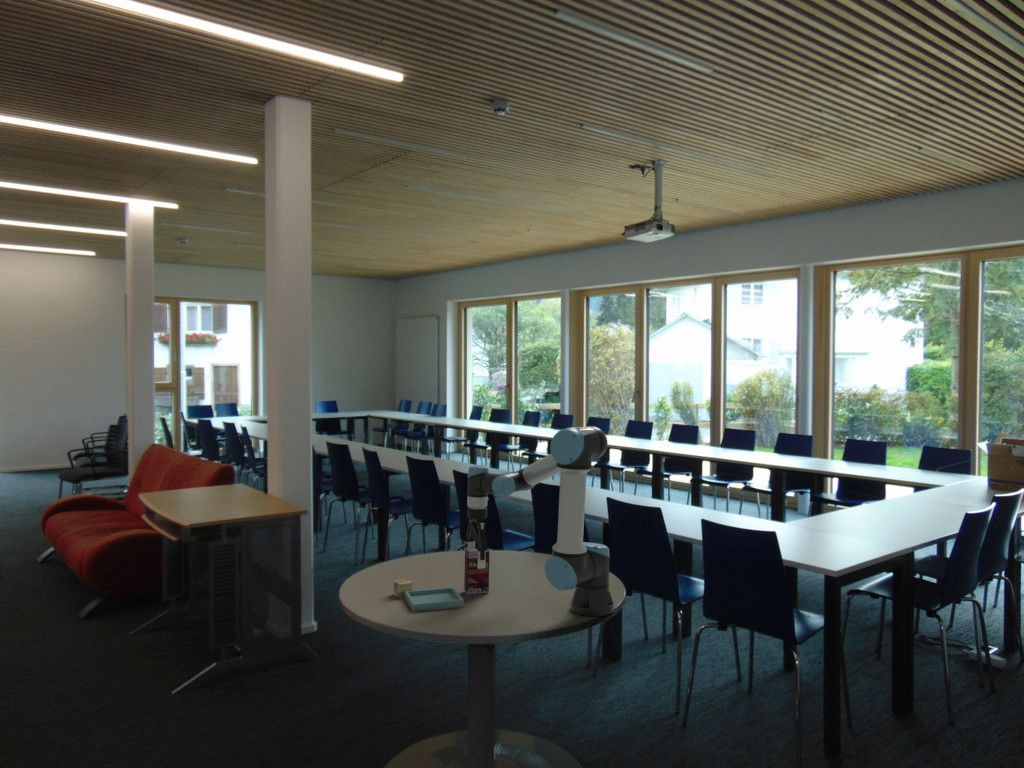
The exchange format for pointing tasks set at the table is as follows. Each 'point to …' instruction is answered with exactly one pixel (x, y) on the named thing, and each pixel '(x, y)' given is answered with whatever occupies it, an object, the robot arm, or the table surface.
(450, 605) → the tray
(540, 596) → the table surface
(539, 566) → the table surface
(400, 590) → the oak cube
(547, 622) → the table surface
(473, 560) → the supplement box
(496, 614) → the table surface
